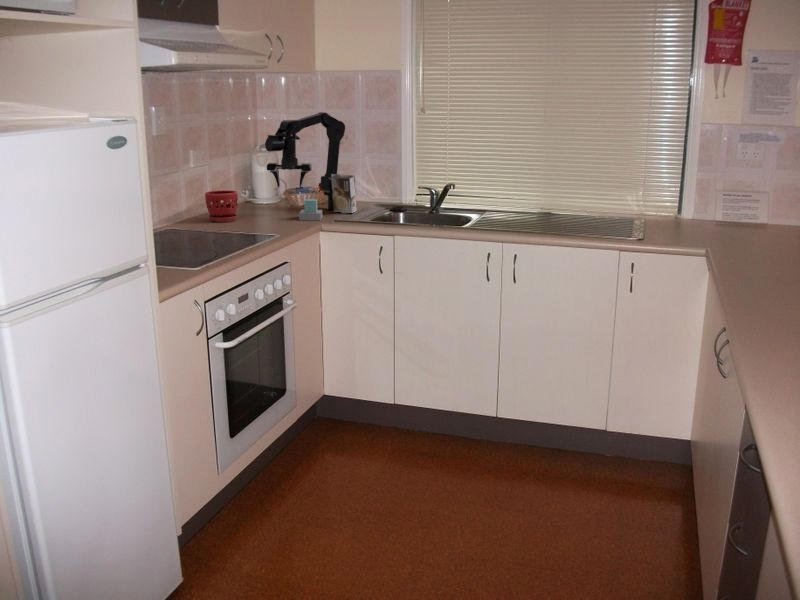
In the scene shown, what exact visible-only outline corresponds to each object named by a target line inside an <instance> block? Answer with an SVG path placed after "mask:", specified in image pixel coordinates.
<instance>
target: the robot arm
mask: <svg viewBox="0 0 800 600" xmlns="http://www.w3.org/2000/svg"><path fill="white" fill-rule="evenodd" d="M319 124H320V125H322V127H324V128H325V130H326V136H327V138H328V148H327V159H326V160H327V161H326V171H325V174H324V175H321V176H320V183H319V185H320V189H321V190H322V191H323V194H324V195H323V196H326V197H327V207H326V209H327V210H326V211H334V208H333V195H332V181H331V178H332V177H333V176H335V175H336V174H338V169H339V168H338V167H339V157H340V156H339V155H340V145H341V141H342V139H343V137H344V135H345V132H346V125H345V123H344V122H343V121H341V120H338V119H337V118H335V117H333V116H331V115H330V114H329V113H328V112H324V111H320V112H317V113H315V114H311V115H308V116H305V117H302V118H299V119H284V120H282V121H280V124H279V127H278V129H277V131H275V134H274V135H273V134H267V138H266V139H265V142H264V146H265V150H266V151H267V152H268V153H270V152H281V151H282V152H281V154H282V158H281V160H280V161H281V162H280V163H281V164H279V163H278V162H269V163H267V164H266V171H269V173H272V174H273V176H274V179H275V182H276V183H277V187H278V188H281V187H280V186H281V184H280V183H281V182H280V173H279V170H283V171H284V170H290V171H292V170H301V171H300V176H299V177H300V178H299V188H302V184H303V181H304V178H305V176H306V174H308V173H309V172H311V171H312V169H313V167H312V164H311V163H309V162H308V163H307V162H305V163H304V162H303V163H301V164H299V161H298V157H297V153H296V152H297V151H296V150H297V148H296V147H297V146H296V145H297V144H296V142H297V141H298V140H300V141H301V138H300V137H299V135H298V133H299V132H301V131H302V130H303V129H305V128H309V127H313V126H315V125H319Z"/></svg>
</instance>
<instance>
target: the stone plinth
mask: <svg viewBox="0 0 800 600" xmlns="http://www.w3.org/2000/svg"><path fill="white" fill-rule="evenodd" d="M321 218H323V209H317V212H316V213H310V212H304V209H301V210H300V211H299V213H298V220H299V221H318V220H322V219H321Z"/></svg>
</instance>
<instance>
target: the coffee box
mask: <svg viewBox="0 0 800 600" xmlns="http://www.w3.org/2000/svg"><path fill="white" fill-rule="evenodd" d="M355 178H356V177H355V175H353V174H338V173H337V174H336V175H335V176H333V177H332V178H331V181H332V195H333V208H334V210H333V213H334V212H342V213H341V214H346V213H353V212H354V213H355V212H356V211H357V210H358V209H357V198H356V197H357V194H356V192H357V191H356V182H355V181H356V179H355ZM354 213H353V214H354Z"/></svg>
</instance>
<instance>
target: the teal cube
mask: <svg viewBox="0 0 800 600" xmlns="http://www.w3.org/2000/svg"><path fill="white" fill-rule="evenodd" d="M303 203H304V207H303V208H304V209H303V210H304V212H310V213H316V212H317V210H318V198H305V199H304V201H303Z"/></svg>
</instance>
